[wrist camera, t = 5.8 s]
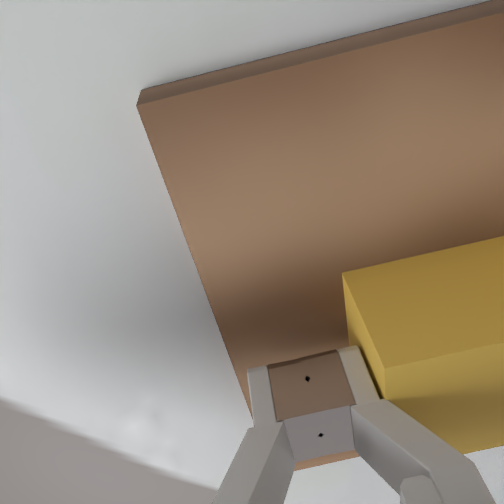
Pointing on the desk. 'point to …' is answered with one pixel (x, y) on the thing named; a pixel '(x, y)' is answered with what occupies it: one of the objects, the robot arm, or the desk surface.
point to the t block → (436, 338)
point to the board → (331, 173)
